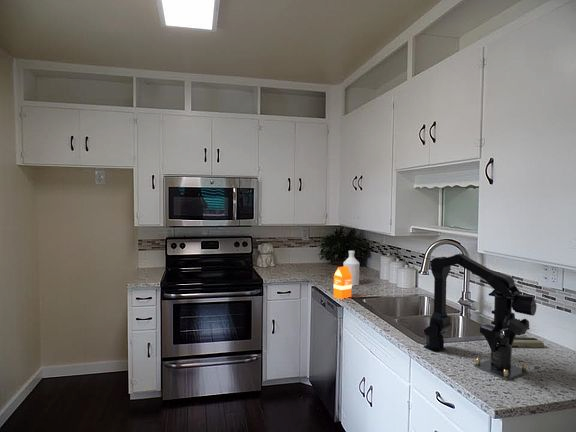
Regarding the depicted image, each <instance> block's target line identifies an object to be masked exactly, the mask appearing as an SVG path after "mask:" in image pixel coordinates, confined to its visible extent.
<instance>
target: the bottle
mask: <svg viewBox="0 0 576 432" xmlns="http://www.w3.org/2000/svg"><path fill="white" fill-rule="evenodd" d="M355 251H356V250H348V258H346V259H345V260H344V261H343V263H342V264H343V266H342V267H344V266H348V268H349V271H350V273H351V275H352V287H355V286H354V285H358V286H359V284H360V266H361V265H360V262H359V260H357V259H356V257H355V254H356V253H355Z"/></svg>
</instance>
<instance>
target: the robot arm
mask: <svg viewBox="0 0 576 432" xmlns="http://www.w3.org/2000/svg"><path fill="white" fill-rule="evenodd" d="M456 265H459V266H460V267H462V268H464V269H465V270H466V271H469V272H470V273H472V274H474V275H475V276H477V277H479V278H481V279H483V280H484V281H485V282H486V283H487V284H488V285H489V286H490V287H491V288H492V289H493V290H492V291H491V292H490V293H488V296H489V297H494V303H493V305H494V307H493V308H494V309H493V310H491V314H492V315H493V320H492V321H491V323H490V324H488V323H487V324H483V325H480V327H479V333H480V334H482V335H483V336H484V338H485V340H486V342H487V344H488V346H489V349H490V351H491V350H492V352H494V353H495V352H496V346H497V340H498V339H499V338H501V337H500V335H502V331H503V335H505V336H508V337H509V343H508V344H510V345H511V346H512V344H513V341H514V339H515V337H517V336H522V335H525V334H526V333H527V331H528V330H530V321H529V320H528V319H526V318H523V319H520V318H518V319H517V318H516V314H515V313H518V314H523V315H528V316H535V315H536V312H537V308H538V307H537V302H536V299H535V296H534V295H525V294H522V293H521V292H520V290H519V289H518V287H517V285H516V284H515V280H514V278H513V277H512V276H510V275H508V274H505V273H503V272H499V271H494V270H492V269H490V268H488V267H487V266H484V265H483V264H480V263H479V262H477V261H475V260H474V259H472V258H471V257H468V256H466V255H465V254H464V253H457V254H454V255H451V256H438V257H434V258H432V260H431V261H430V270H431V274H432V276H433V279H434V280H433V281H434V283H433V284H434V285H433V288H434V289H433V290H434V291H433V293H434V294H433V295H434V296H433V297H434V298H433V312H432V314H431V316H430V319H429V320H430V321H429V325H428V326H427V327H426V328H424V329H423V332H424V335H425V336H426V343H425V345H423V348H426V349H428V350H430V351H432V352H435V353H437V352H441V351H444V350H446V347H445V345H444V344H445V342H444V341H445V340H444V334H446V332H447V331H448V330H449V329H450V327H451V326H452V324H451V323H452V320H451V319H452V316H451V315H448V314H447V278H448V276H449V273H450V270H451V268H452V267H451V266H456ZM513 311H514V312H513Z"/></svg>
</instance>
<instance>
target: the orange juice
mask: <svg viewBox="0 0 576 432" xmlns="http://www.w3.org/2000/svg"><path fill="white" fill-rule="evenodd" d="M352 287H353V286H352V275H351V273H350V271H349V268H348V266H344V267H343V266H338V267H337V269H336V270H335V273H334V275H333V298H335V299H339V300H344V298H346V299H349V298H348V297H351V298H352V289H353V288H352Z"/></svg>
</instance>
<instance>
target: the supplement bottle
mask: <svg viewBox="0 0 576 432" xmlns="http://www.w3.org/2000/svg"><path fill="white" fill-rule="evenodd" d="M500 337H501V338H499V339H498V340H497V346H496V352H495V353H494V352H492V350H491V349H490V359H491V366H492V367H493V368H494V369H497V370H501V371H504V369H507V370H508V371H509V370H510V369H511V364H512V355H513V354H512V351H513V349H512V348H513V347H511V345H510V344H508V343H509V337H508V336H505V335H504V334H501V335H500Z"/></svg>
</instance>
